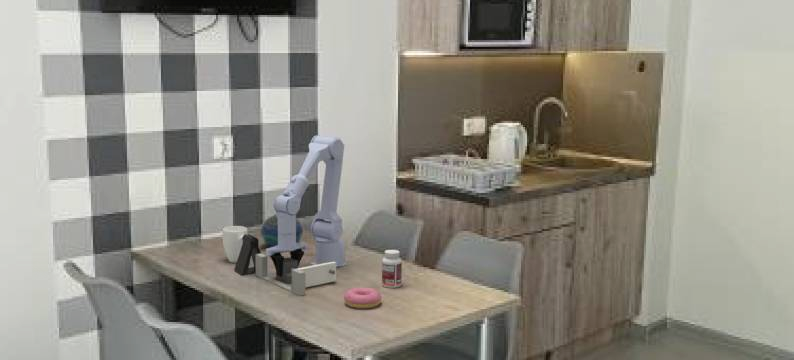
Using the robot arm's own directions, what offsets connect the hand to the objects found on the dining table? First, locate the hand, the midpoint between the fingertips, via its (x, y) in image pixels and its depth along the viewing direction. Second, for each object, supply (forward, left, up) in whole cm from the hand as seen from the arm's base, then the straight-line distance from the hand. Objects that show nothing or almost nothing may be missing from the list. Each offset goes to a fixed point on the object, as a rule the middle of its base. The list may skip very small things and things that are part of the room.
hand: (286, 273), depth 258 cm
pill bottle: (-22, +26, -2) cm, 34 cm away
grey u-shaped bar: (+6, +4, -1) cm, 7 cm away
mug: (+4, -26, -2) cm, 26 cm away
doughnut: (-4, +34, -2) cm, 35 cm away
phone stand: (+6, -14, -2) cm, 15 cm away
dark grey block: (0, +1, -1) cm, 2 cm away
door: (-3, +13, -1) cm, 13 cm away
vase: (-19, -34, -2) cm, 40 cm away
